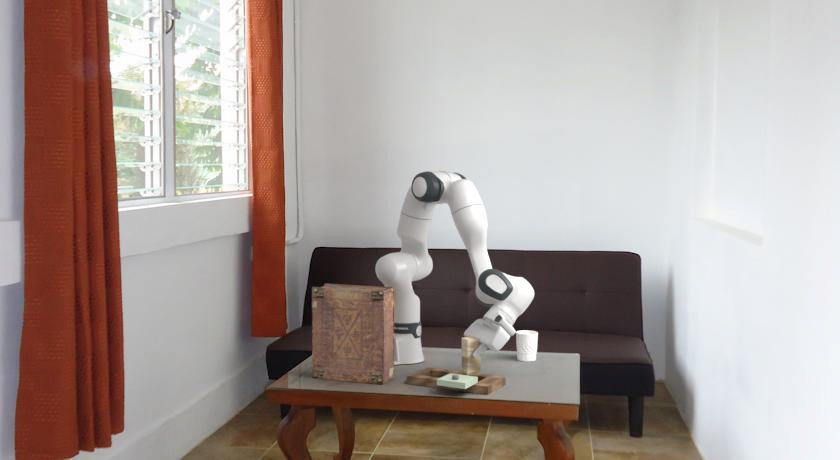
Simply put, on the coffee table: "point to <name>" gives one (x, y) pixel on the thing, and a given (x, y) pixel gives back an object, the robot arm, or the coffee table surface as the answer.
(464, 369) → the maple block
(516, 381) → the coffee table surface
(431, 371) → the puzzle board
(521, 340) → the white cup
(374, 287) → the book
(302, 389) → the coffee table surface
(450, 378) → the lid
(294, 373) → the coffee table surface
